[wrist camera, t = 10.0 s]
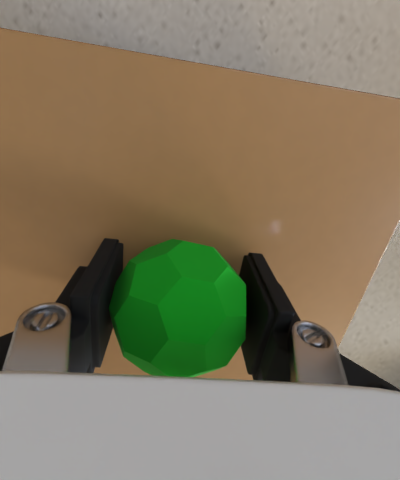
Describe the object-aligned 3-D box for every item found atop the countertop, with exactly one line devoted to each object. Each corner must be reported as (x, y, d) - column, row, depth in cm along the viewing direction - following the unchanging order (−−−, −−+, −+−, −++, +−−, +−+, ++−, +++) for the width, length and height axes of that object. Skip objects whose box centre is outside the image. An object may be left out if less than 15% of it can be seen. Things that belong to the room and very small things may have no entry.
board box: (55, 299, 21) (-2, 383, 15) (30, 54, 14) (-96, 10, 8) (277, 315, 23) (314, 396, 17) (347, 108, 16) (455, 107, 10)
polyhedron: (116, 224, 11) (73, 297, 7) (236, 215, 11) (270, 282, 7) (134, 319, 13) (112, 420, 9) (235, 311, 13) (260, 407, 9)
